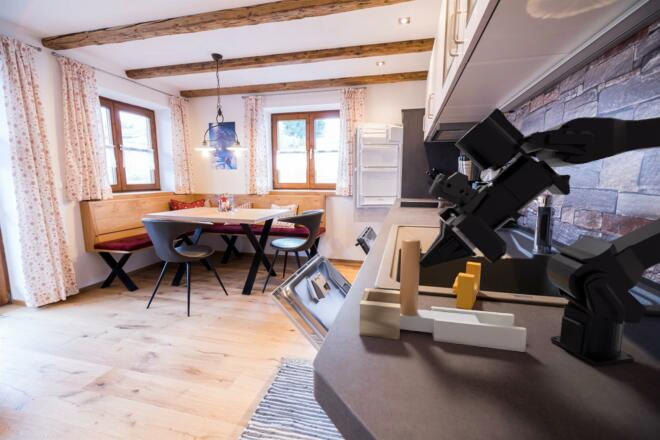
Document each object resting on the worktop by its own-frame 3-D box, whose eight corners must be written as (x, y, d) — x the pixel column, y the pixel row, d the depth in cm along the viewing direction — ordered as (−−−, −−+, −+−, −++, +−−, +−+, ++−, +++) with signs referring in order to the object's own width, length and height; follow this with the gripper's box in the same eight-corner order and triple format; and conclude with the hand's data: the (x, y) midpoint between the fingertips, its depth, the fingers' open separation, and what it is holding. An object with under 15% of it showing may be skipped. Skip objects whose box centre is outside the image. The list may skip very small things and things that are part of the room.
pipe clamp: (458, 288, 66) (459, 260, 65) (479, 291, 64) (481, 263, 63) (446, 305, 56) (448, 273, 56) (470, 311, 54) (473, 277, 53)
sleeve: (511, 333, 45) (512, 314, 45) (525, 351, 40) (526, 330, 40) (430, 324, 48) (431, 306, 48) (433, 340, 43) (434, 320, 43)
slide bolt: (474, 328, 45) (479, 241, 44) (479, 338, 42) (485, 245, 41) (392, 319, 48) (395, 238, 47) (392, 327, 45) (394, 241, 44)
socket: (399, 318, 50) (400, 290, 50) (399, 339, 43) (400, 307, 43) (364, 315, 52) (365, 287, 51) (359, 334, 45) (359, 303, 44)
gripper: (453, 160, 51) (387, 220, 54) (483, 145, 33) (381, 237, 36) (500, 206, 50) (429, 264, 53) (557, 217, 32) (444, 303, 35)
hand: (421, 265), depth 45 cm, fingers closed, pressing on slide bolt
